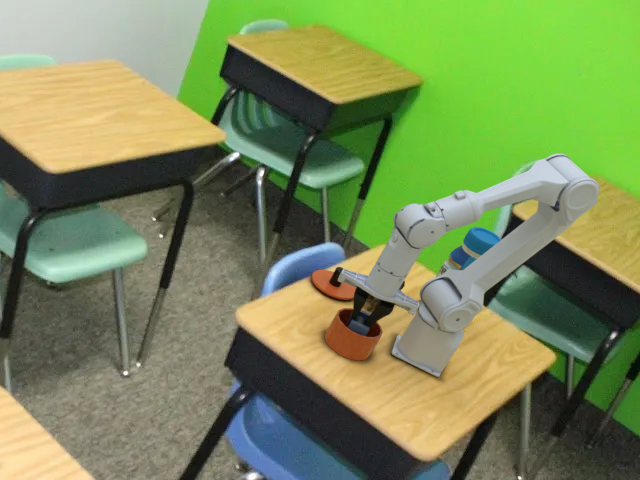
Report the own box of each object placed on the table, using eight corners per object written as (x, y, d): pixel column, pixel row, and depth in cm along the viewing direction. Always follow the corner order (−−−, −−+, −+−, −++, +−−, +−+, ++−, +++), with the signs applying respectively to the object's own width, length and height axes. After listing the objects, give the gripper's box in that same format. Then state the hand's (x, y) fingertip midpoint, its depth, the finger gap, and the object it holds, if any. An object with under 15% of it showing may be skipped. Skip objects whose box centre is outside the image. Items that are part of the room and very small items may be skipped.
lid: (358, 288, 194) (368, 271, 191) (349, 308, 187) (359, 290, 184) (315, 268, 196) (325, 250, 194) (305, 286, 189) (314, 269, 186)
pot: (372, 345, 178) (386, 323, 175) (364, 367, 171) (378, 344, 168) (330, 323, 180) (342, 302, 177) (320, 344, 173) (332, 322, 170)
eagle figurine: (396, 319, 186) (409, 295, 191) (391, 289, 182) (404, 265, 188) (358, 318, 190) (371, 294, 196) (352, 288, 187) (366, 265, 193)
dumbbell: (347, 320, 176) (355, 306, 174) (364, 328, 176) (372, 314, 174) (343, 336, 172) (351, 321, 170) (360, 344, 171) (369, 329, 169)
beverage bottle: (444, 331, 189) (497, 251, 177) (409, 308, 193) (459, 228, 181) (462, 321, 194) (514, 242, 183) (427, 298, 199) (477, 220, 187)
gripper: (433, 275, 167) (396, 333, 175) (356, 241, 169) (324, 300, 177) (430, 292, 161) (393, 351, 169) (351, 257, 164) (318, 317, 172)
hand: (357, 326), depth 173 cm, fingers closed on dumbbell, 2 cm apart
